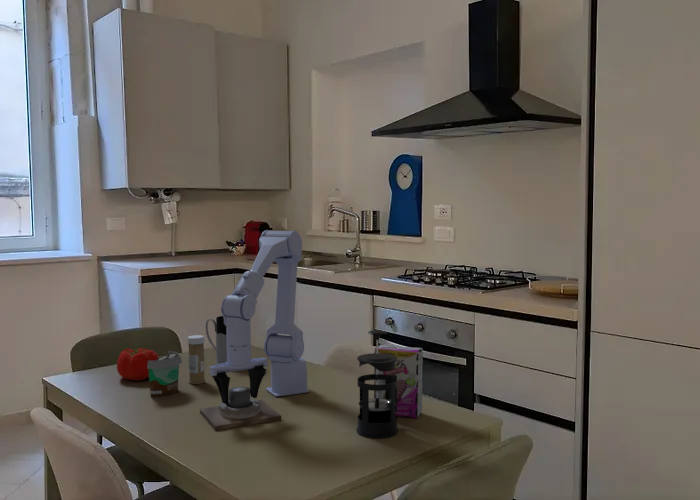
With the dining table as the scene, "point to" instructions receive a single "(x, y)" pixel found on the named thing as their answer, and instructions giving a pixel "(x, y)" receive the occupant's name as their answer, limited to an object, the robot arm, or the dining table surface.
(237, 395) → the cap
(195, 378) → the sprinkles bottle
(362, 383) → the french press
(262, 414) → the collar
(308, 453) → the dining table surface
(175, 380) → the food container
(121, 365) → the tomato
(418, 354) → the candy bar box
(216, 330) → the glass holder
